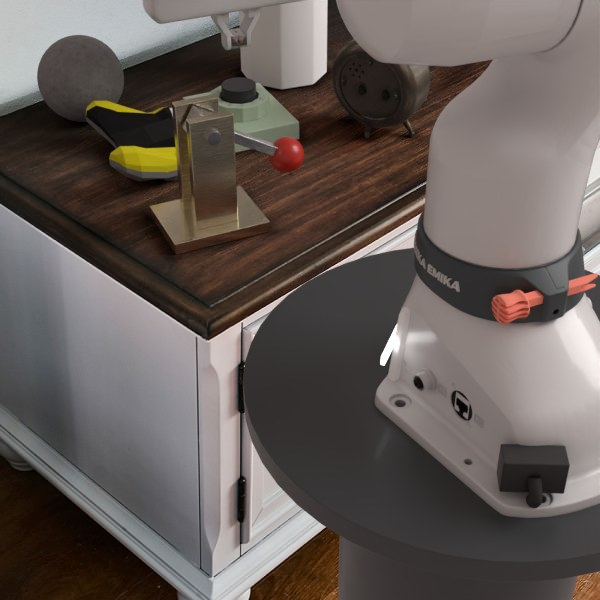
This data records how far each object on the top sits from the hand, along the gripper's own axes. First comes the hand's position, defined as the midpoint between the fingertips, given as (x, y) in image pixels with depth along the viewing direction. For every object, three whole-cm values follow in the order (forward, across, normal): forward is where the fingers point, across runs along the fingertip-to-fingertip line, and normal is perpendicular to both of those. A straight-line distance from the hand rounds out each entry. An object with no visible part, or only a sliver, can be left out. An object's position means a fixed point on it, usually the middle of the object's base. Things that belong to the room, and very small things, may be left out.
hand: (236, 46), depth 117 cm
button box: (+10, 0, 0) cm, 10 cm away
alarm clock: (+10, +14, -8) cm, 19 cm away
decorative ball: (+10, -16, +10) cm, 21 cm away
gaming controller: (+10, -13, -4) cm, 17 cm away
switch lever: (+3, -7, -19) cm, 21 cm away
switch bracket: (+10, -11, -19) cm, 24 cm away
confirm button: (+6, 0, 0) cm, 6 cm away
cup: (+10, +11, +12) cm, 19 cm away
